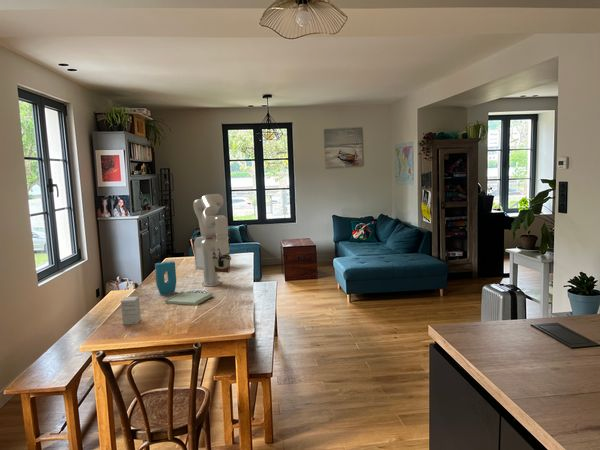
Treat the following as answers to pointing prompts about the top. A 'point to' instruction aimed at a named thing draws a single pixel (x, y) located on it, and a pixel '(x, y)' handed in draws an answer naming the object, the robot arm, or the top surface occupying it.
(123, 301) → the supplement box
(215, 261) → the food container
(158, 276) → the block
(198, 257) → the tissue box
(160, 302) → the top surface
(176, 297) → the board
